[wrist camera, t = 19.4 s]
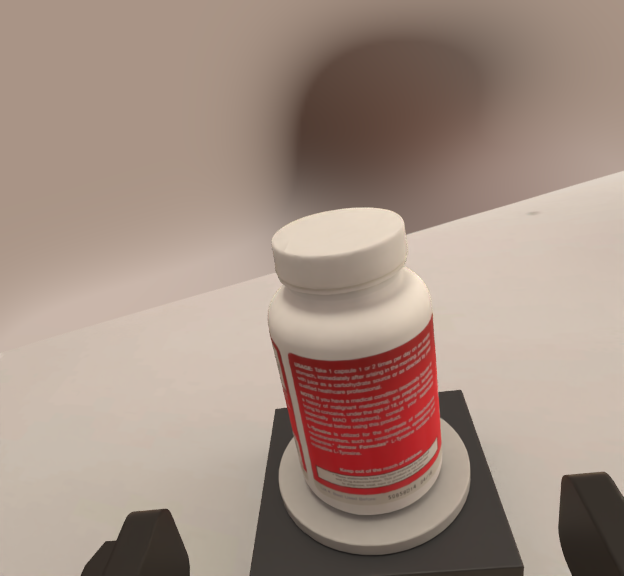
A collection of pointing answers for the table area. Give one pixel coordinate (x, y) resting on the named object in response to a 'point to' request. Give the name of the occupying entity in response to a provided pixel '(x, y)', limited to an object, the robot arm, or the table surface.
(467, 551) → the scale
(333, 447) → the pill bottle
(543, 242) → the table surface
